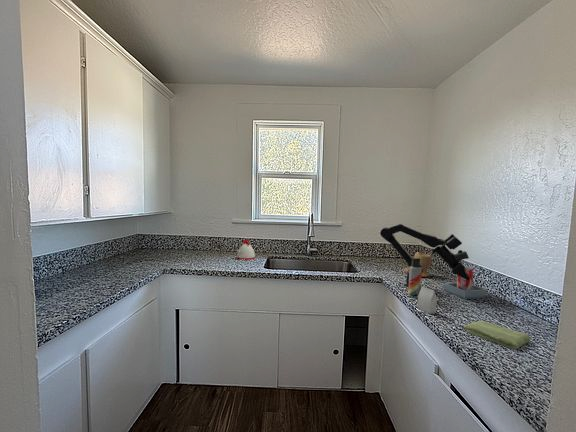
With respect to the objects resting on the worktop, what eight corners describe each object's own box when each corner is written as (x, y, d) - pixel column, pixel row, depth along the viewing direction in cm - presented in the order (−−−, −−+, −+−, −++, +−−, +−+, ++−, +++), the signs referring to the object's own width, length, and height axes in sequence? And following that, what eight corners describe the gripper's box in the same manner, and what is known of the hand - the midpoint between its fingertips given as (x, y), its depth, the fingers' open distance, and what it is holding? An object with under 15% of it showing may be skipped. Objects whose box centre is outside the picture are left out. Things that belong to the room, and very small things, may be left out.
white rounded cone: (248, 255, 240) (249, 237, 239) (258, 258, 230) (258, 240, 229) (233, 257, 232) (234, 239, 231) (243, 261, 221) (243, 241, 220)
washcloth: (478, 324, 120) (478, 316, 119) (531, 343, 105) (532, 334, 104) (461, 331, 113) (462, 323, 112) (516, 353, 98) (516, 343, 97)
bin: (464, 299, 148) (465, 291, 148) (443, 290, 162) (443, 283, 161) (486, 297, 152) (487, 289, 152) (463, 288, 165) (464, 282, 165)
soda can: (454, 289, 157) (456, 267, 156) (459, 286, 162) (460, 265, 161) (469, 292, 152) (471, 270, 151) (473, 290, 156) (475, 268, 155)
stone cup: (434, 277, 189) (436, 254, 188) (420, 278, 185) (421, 255, 184) (416, 271, 203) (418, 250, 202) (403, 272, 199) (404, 250, 198)
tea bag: (430, 313, 128) (431, 291, 128) (417, 308, 134) (418, 286, 134) (435, 312, 130) (437, 290, 129) (423, 307, 136) (424, 286, 135)
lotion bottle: (413, 298, 147) (415, 259, 146) (405, 294, 153) (407, 257, 151) (422, 297, 149) (424, 258, 148) (414, 294, 154) (416, 256, 153)
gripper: (461, 248, 148) (485, 273, 144) (456, 243, 165) (478, 265, 162) (442, 261, 152) (465, 286, 148) (440, 255, 169) (460, 277, 165)
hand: (468, 278), depth 156 cm, fingers closed on soda can, 7 cm apart
